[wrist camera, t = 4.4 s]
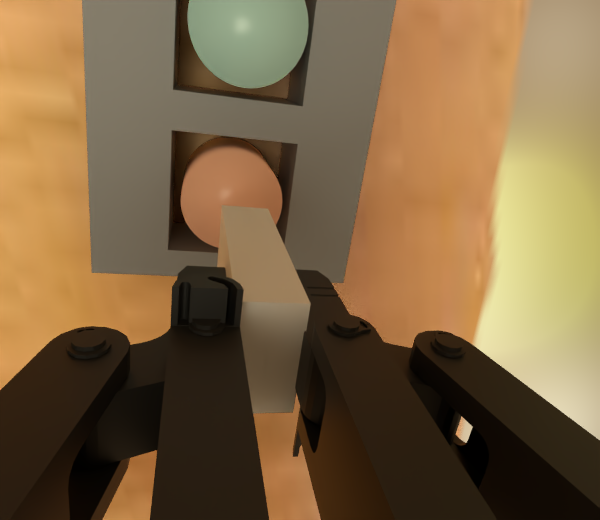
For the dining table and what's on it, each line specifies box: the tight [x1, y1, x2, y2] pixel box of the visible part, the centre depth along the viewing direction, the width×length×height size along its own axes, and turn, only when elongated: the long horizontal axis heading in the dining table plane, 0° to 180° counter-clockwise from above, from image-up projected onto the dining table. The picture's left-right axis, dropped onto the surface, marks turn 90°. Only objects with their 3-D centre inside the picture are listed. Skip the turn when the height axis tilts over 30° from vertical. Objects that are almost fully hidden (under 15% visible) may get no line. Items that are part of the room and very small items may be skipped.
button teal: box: [188, 0, 309, 88], centre depth 19 cm, size 4×4×4 cm
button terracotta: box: [181, 137, 282, 248], centre depth 22 cm, size 4×4×4 cm
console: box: [82, 0, 396, 283], centre depth 20 cm, size 12×22×4 cm, turn 171°
